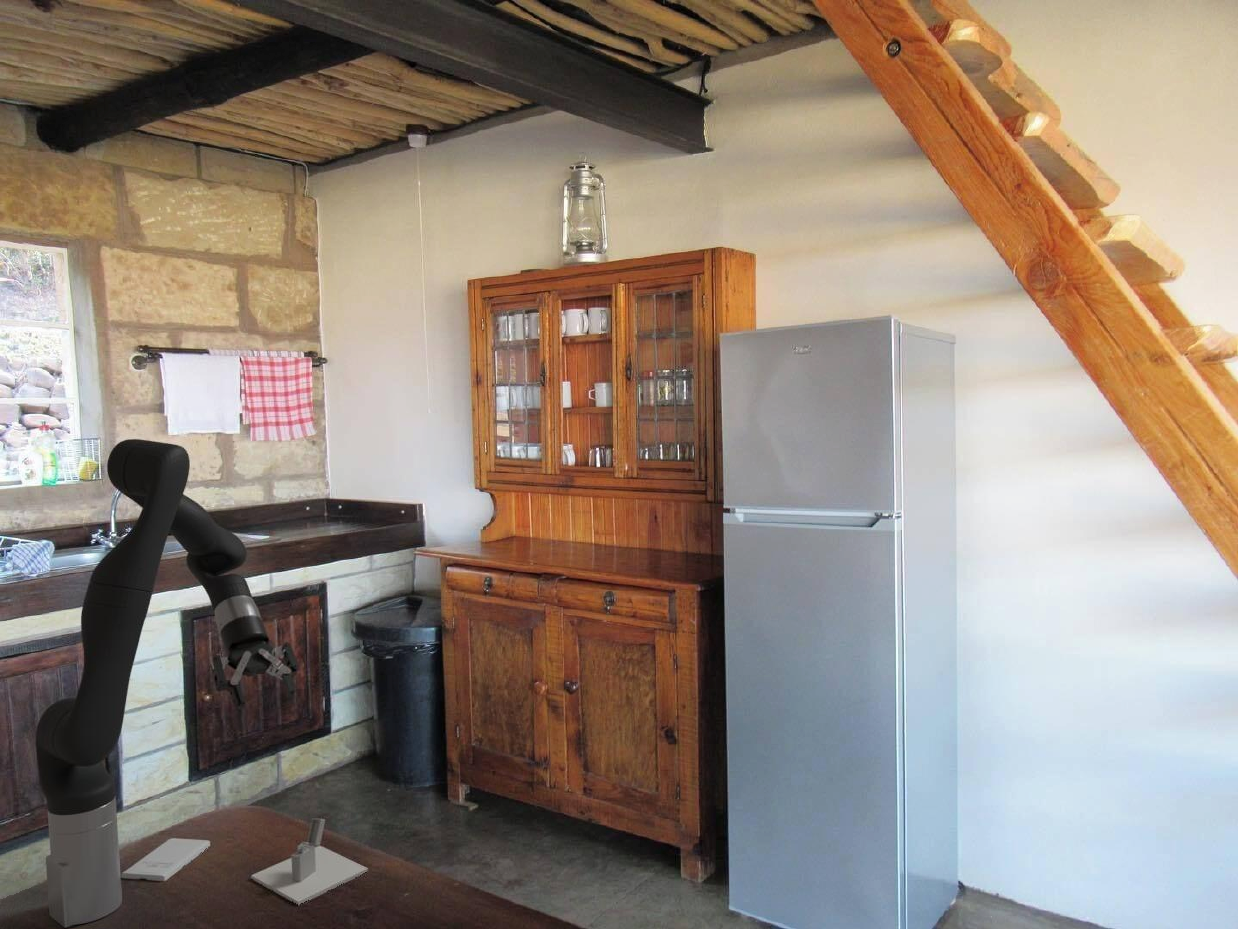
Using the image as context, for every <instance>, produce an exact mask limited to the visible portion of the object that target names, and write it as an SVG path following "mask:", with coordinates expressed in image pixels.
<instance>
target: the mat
mask: <svg viewBox="0 0 1238 929" xmlns="http://www.w3.org/2000/svg"><path fill="white" fill-rule="evenodd" d="M315 862H316V871H315V872H314V873H312V874H311V875H310V876H308V877H307V878H306V879H304V880H303V881H302V882H296V881H293V880H292V859H291V857H290V858H288V859H285V860H283V861H281V862H279V863H276V864H274V865H271V866H270V867H267V868H265V869H262V870H260V871H258V872H256V873H253V874H252V875H251V876H250V877H251V880H252V879H253V880H252V881H255V882H256V883H257V884H260V885H261V884H262V885H261V886H264V887H265V888H267V889H268V890H270V889H271V890H270V891H272V890H273V891H272V892H274V893H276V894H277V895H279V896H281V897H283V898H285V899H287V901H288V900H289V902H292V901H293V902H294V903H293V902H292V903H293V904H295V903H296V905H297V904H298V905H297V906H301V905H302V904H301V903H303V904H305V903H306V902H305V901H307V902H309V901H310V900H313V899H315V898H318V897H319V896H321V895H323V894H326V893H327V891H328V890H330V891H331V889H332V890H334V889H335V888H338V887H340V886H341V884H342V885H344V884H346V883H348V882H350V881H353V880H354V879H356V878H355V877H357V878H359V877H361V876H362V874H363V873H365V872H367V871H368V872H369V867H366V866H363V865H362V864H360V863H357V862H355V861H353V860H352V859H349V858H347V857H345V856H342V855H341V854H339V853H337V852H334V851H332V850H331V849H328V848H327V847H324V846H321V845H316V846H315ZM368 872H367V873H368ZM365 874H366V873H365ZM360 875H361V876H360ZM363 875H364V874H363ZM358 876H359V877H358ZM343 883H344V884H343ZM339 885H340V886H339ZM337 886H338V887H337ZM328 892H329V891H328ZM308 900H309V901H308ZM304 902H305V903H304ZM300 904H301V905H300Z"/></svg>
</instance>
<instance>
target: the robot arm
mask: <svg viewBox="0 0 1238 929" xmlns="http://www.w3.org/2000/svg"><path fill="white" fill-rule="evenodd" d="M190 461H191V460H190V455H189V453H188V450H186V449H185V448H184V447H183V446H182V445H179V444H175V443H174V444H173V443H168V442H163V441H162V442H161V441H155V440H146V439H140V438H139V439H138V438H130V439H124V440H122V441H119V442H118V443H116V445H115V446H114V447H113V448H112V450H111V451H110V453H109V456H108V459H107V463H106V464H107V465H106V471H107V476H108V479H109V481H110V483H111V484H112V485H113V487H114V488H115V489H117V491H118V492H119V493H121V494H122V495H124V496H126V497H128V498H129V499H130V500H132V501H133V502H134V503H135V504H137V505H138V506H140V508H141V511H140V514H139V516H138V518H137V520H136V522H135V524H134V525H133V526H132V528H131V529H130V530H129V532H128V533H127V534H126V535H125V536H124V537H123V538H122V539H121V540H120V541H119V542H118V543H117V544H115V545H114V547H113V548H112V549H110V551H108V553H107V554H106V555H104V556H103V558H102V559H100V560H99V562H98V564H96V566H95V567H94V569H93V571H92V573H91V575H90V578H89V582H88V585H87V589H86V592H85V596H84V599H83V603H82V604H83V605H82V609H81V614H80V615H81V616H80V628H81V629H80V631H81V639H82V640H81V641H82V650H83V669H82V670H83V671H82V675H81V678H80V679H81V680H80V683H79V685H78V686H79V687H78V690H77V694H76V697H66V698H63V699H60V700H58V701H55V702H54V703H53V704H51V705H49V706H48V707H47V708H46V709H45V710H44V712H43V713H42V714H41V717H40V718H39V721H38V723H37V727H36V732H35V750H36V760H37V768H38V777H39V784H40V785H39V786H40V789H41V791H42V793H43V795H44V797H45V800H46V806H47V807H46V808H47V819H48V820H47V821H48V834H49V835H48V836H49V838H48V839H49V850H50V854H49V855H47V856H46V857H45V867H46V883H47V895H48V896H47V899H48V911H49V917H51V918H52V919H53V920H54V921H56V922H57V923H58V924H59V925H60V926H62V927H63V928H69V927H71V926H75V925H82V924H86V923H90V922H94V921H97V920H99V919H102V918H104V917H106V916H108V915H110V914H112V913H113V912H116V911H117V910H118V908H120V907H121V905H122V902H123V893H122V892H123V890H122V889H123V888H122V878H121V864H120V862H121V860H120V848H119V847H120V846H119V845H120V844H119V831H118V830H119V829H118V817H117V816H118V815H117V799H116V798H117V797H116V783H115V780H114V778H113V776H112V775H111V774H110V773H109V772H108V770H107V768H106V767H105V764H104V762H103V761H104V760H106V758H108V757H109V756H110V755H111V753H112V752H113V751H114V749H115V747H116V746H117V744H118V741H119V739H120V737H121V733H122V729H123V723H124V719H125V710H126V704H127V697H128V691H129V684H130V679H131V675H132V670H133V666H134V663H135V658H136V655H137V650H138V647H139V643H140V638H141V636H142V635H141V634H142V631H143V627H144V624H145V620H146V618H147V616H148V615H147V614H148V611H149V607H150V604H151V600H152V597H153V592H154V588H155V585H156V584H155V583H156V578H157V574H158V571H159V568H160V564H161V560H162V556H163V552H164V549H165V545H166V542H167V539H168V536H169V534H171V535H172V536H173V537H174V539H175V540H176V541H177V542H178V543H179V545H180V546H181V547H182V548H183V549H184V550H185V551H186V552H187V555H186V560H185V561H186V565H187V568H188V570H189V571H190V572H191V574H192V575H193V576H194V578H195V579H196V580H197V581H198V582H199V583H200V585H201V586H202V587H203V589H204V591H205V592H206V595H207V596H208V598H209V601H210V605H211V607H212V610H213V612H214V616H215V623H216V626H217V631H218V633H219V636H220V638H221V642H222V644H223V647H224V651H225V653H226V655H227V656H223V657H221V656H220V655H219V654H216V655H213V657H212V659H211V663H210V669H211V674H212V678H213V683H214V686H215V691H217V692H222V691H226V692H228V693H229V694H230V698H231V701H232V704H233V706H234V707H235V708H237V707H238V708H237V709H238V710H242V709H245V706H246V699H245V696H244V692H243V691H242V686H241V685H240V684H239V683H240V681H241V679H242V678H243V676H245V677H247V678H248V677H252V676H255V675H264V674H265V673H267V674H269V675H270V676H272V677H274V676H275V677H276V678H278V679H279V680H281V685H282V688H283V690H284V694H285V695H286V698H287V699H292V698H293V696H294V695H295V692H296V690H297V687H296V684H295V681H294V678H293V677H295V676H296V675H298V674H297V673H298V671H299V669H300V667H301V665H300V664H299V660H298V659H297V657H296V654H295V652H294V650H293V648H292V646H291V643H290V642H289V641H285V642H284V643H283V644H282V645H280V646H276V647H275V646H273V645H272V644H271V641H270V637H269V635H268V632H267V630H266V627H265V624H264V621H263V619H262V616H261V613H260V611H259V608H258V606H257V604H256V603H255V601H254V599H253V595H252V593H251V590H250V587H249V584H248V581H247V580H246V578H245V577H244V576H243V575H241V574H238V573H229V572H232V571H233V570H234V571H235V570H236V569H238V568H240V567H241V566H242V565H244V563H245V562H246V560H247V554H248V553H247V548H246V546H245V544H244V542H243V541H242V540H241V538H240V537H238V536H237V535H236V534H235V533H234V532H232V531H230V530H228V529H226V528H223V527H222V526H221V525H218V524H217V523H216V521H215V520H214V518H213V517H212V516H211V515H210V514H209V512H208V511H207V510H206V509H205V508H204V507H203V506H202V505H201V504H199V503H198V502H196V501H195V500H193V499H192V498H190V497H189V496H187V495H185V494H184V493H185V489H186V486H187V484H188V483H187V482H188V480H189V475H190V468H191V466H190V464H191V463H190ZM226 573H229V574H226ZM276 655H277V656H278V657H279V658H280V659H283V661H284V664H283V663H282V662H283V661H281V660H280V659H279V658H277V657H275V656H276ZM226 665H228V667H230V668H232V669H233V670H234V671H235V672H234V673H233V675H232V677H231V679H230V680H229V679H227V678H226V675H225V671H224V669H225V668H226Z"/></svg>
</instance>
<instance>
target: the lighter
mask: <svg viewBox="0 0 1238 929" xmlns="http://www.w3.org/2000/svg"><path fill="white" fill-rule="evenodd" d="M325 824H326V820H325V818H324V819H323V818H316V817H312V818H311V822H310V827H309V831H308V835H307V840H306V841H302V842H301V843H300V844H299V845H297V846H296V849H297V850H296V851H295V852H294V853H292V854H291V855H290V856H291V857H290V858H291V859H292V880H293V881H296V882H302V881H303V880H304V879H306V878H307V877H308V876H310V875H311V874H312V873H314V872H315V871H316V862H315V847H316V846H321V842H322V837H323V832H324V827H325Z"/></svg>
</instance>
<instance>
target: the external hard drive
mask: <svg viewBox="0 0 1238 929" xmlns="http://www.w3.org/2000/svg"><path fill="white" fill-rule="evenodd" d="M209 846H210V847H211V841H210V840H206V839H193V838H188V839H187V838H174V837H173V838H168V839H167V840H166V841H165V842H163V843H162V844H160V845H159V846H158V847H156V848H155V849H154V850H152V851H151V852H149V853H148V854H147V855H145V856H144V857H142V858H141V859H140V860H138V861H137V862H136V863H134V864H132V865H131V867H129V868H127V869H126V870H124V871H123V872H121V873H120V875H121V879H128V880H129V879H130V880H147V881H158V882H159V881H160V882H165V881H167V880H168V879H169V878H171V877H173V875H175V874H176V873H177V872H179V871H180V870H181V869H183V868H184V867H185V866H187V865H188V864H189V863H190V862H192V861H193V860H194V859H195V858H197V857H198V856H200V855H201V854H202V853H203V852H205V851H206V850H207V849H209V848H210V847H209ZM208 847H209V848H208ZM206 848H207V849H206ZM205 849H206V850H205ZM204 850H205V851H204ZM201 852H202V853H201ZM200 853H201V854H200ZM199 854H200V855H199ZM191 860H192V861H191ZM184 865H185V866H184ZM183 866H184V867H183ZM182 867H183V868H182Z"/></svg>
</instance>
